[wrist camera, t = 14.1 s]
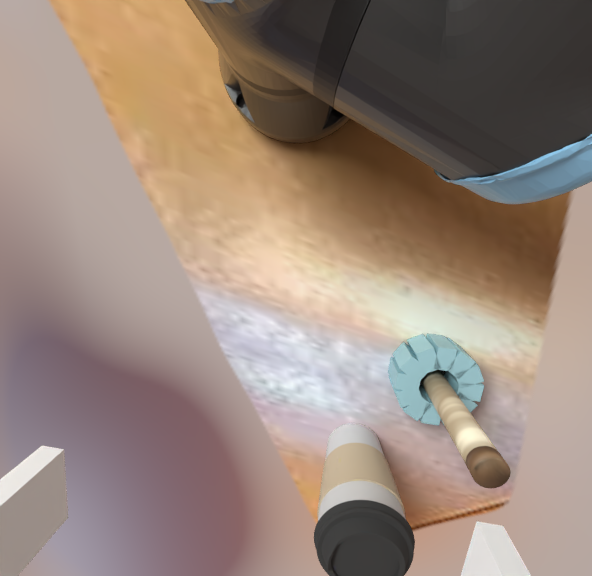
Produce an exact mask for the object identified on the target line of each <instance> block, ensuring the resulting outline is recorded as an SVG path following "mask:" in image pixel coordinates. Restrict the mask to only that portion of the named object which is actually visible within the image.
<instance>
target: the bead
mask: <svg viewBox="0 0 592 576" xmlns="http://www.w3.org/2000/svg"><path fill="white" fill-rule="evenodd" d="M407 341H408V344H409V346H410V347H409V346H408V345H407V344H405V343H404V342H403V343H402V344H401V345H400V346H399V347H398V348H397V350H396V351H395V352H394V353H393V356H394V358H392V357H391V359H390V364H389V370H388V373H389V378H390V381H391V384H392V386H393V389H394V392H395V394H396V397H397V399H398V402H399V404H400V407H401V408H403V411H404V412H405V413H407V414H408V415H410V416H411V417H412V418H414V419H415V420H416V421H418V420H419V419H420V421H421V423H426V424H432V425H439V424H440V419H441V418H440V416H439V414H438V412H437V411H436V409H435V407H434V405H433V403H432V401H431V400H430V398H429V396H428V394H427V392H426V391H425V389H424V387H423V385H420V381H421V379H422V378H423V377H424V376H425V375H426V374H427V373H429V372H432V371H435V370H444V371H445V375H444V377H445V378H446V380H447V381H448V382H449V384H450V385H451V387H452V388H453V389H454V391H455V392H456V394H457V395H458V396H459V398H460V399H461V401H462V402H463V403H464V405H465V406H466V408H467V409H468V410H469V412H472V411H473V410H474V409H475V408H476V407H477V406H478V405H477V404H476V403H475V401H478V402H480V400H481V396H482V393H483V389H484V385H483V384H482V383H481V382H484V380H483V377H482V374H481V371H480V368H479V366H478V365H477V364H476V362H475V361H474V360H473V359H472V358H471V357H470V356H469V355H468V354H467V353H466V352H465V351H464V350H463V349H462V348H461V347H460V346H459V345H457V344H456V343H455V342H453V341H452V340H451V339H449V338H446V337H445V336H442V335H435V334H427V337H425V336H424V335H423V334H421V335H418V336H416V337H413V338H410V339H407ZM441 421H442V420H441ZM442 423H443V421H442ZM443 425H444V423H443Z"/></svg>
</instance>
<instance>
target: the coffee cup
mask: <svg viewBox="0 0 592 576" xmlns="http://www.w3.org/2000/svg"><path fill="white" fill-rule="evenodd" d="M314 543H315V547H316V549H317V555H318V559H319V561H320V563H321V565H322V567H323V569H324V570H325V571H326V572H327V573H328V575H329V576H404V575H405V573H406V572H407V571H408V569H409V567H410V565H411V563H412V560H413V552H414V543H415V541H414V535H413V531H412V529H411V527H410V525H409V523H408V522H407V521H406V515H405V510H404V506H403V504H402V501H401V498H400V495H399V492H398V490H397V487H396V484H395V481H394V479H393V476H392V473H391V470H390V467H389V465H388V462H387V460H386V458H385V457H384V454H383V451H382V448H381V445H380V442H379V439H378V437H377V435H376V434H375V433H374V432H373V431H372V430H371V429H370V428H368V427H367V426H364V425H362V424H357V423H349V424H344V425H342V426H340V427H338V428H336V429H335V430H334V431H333V432H332V433H331V435H330V436H329V439H328V443H327V450H326V459H325V463H324V468H323V475H322V482H321V490H320V497H319V504H318V523H317V525H316V528H315V532H314Z"/></svg>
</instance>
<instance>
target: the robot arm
mask: <svg viewBox="0 0 592 576" xmlns="http://www.w3.org/2000/svg"><path fill="white" fill-rule="evenodd" d="M185 1H186V2H187V4H188V5H189V7H190V8H191V10H192V11H193V13H194V14H195V15H196V17H197V18H198V20H199V21H200V23H201V24H202V26H203V27H204V29H205V30H206V32H207V33H208V34H209V36H210V37H211V39H212V40H213V42H214V43H215V45H216V46H217V48H218V52H219V65H220V71H221V75H222V79H223V82H224V85H225V88H226V90H227V93H228V95H229V97H230V99H231V100H232V102H233V104H234V105H235V107H236V108H237V109H238V111H239V112H240V113H241V114H242V116H243V117H244V118H245V119H246V120H247V121H248V122H249V123H250V124H251V125H252V126H253V127H254V128H255V129H257V130H258V131H260V132H261V133H263V134H264V135H266V136H268V137H270V138H273V139H276V140H279V141H283V142H289V143H305V142H311V141H315V140H318V139H321V138H323V137H326V136H328V135H330V134H332V133H333V132H335V131H336V130H338V129H339V128H340V127H342V126H343V125H344V124H345V123H346V122H347V121H348V120H349V119H352V120H354V121H355V122H357V123H359V124H360V125H362V126H364V127H365V128H367V129H369V130H370V131H372V132H374V133H375V134H377V135H379V136H380V137H382V138H384V139H385V140H387V141H388V142H390V143H392V144H393V145H395V146H397V147H398V148H400V149H402V150H403V151H405V152H407V153H408V154H410V155H412V156H413V157H415V158H417V159H418V160H420V161H422V162H423V163H425V164H427V165H428V166H430V167H432V168H433V169H434V171H435V173H436V174H437V175H438V176H439V177H440V178H441V179H443V180H444V181H446V182H451V183H453V184H455V185H461V186H463V187H465V188H467V189H469V190H470V191H472V192H474V193H476V194H478V195H480V196H481V197H483V198H485V199H487V200H490V201H493V202H499V203H504V204H523V203H531V202H537V201H541V200H545V199H549V198H552V197H555V196H558V195H561V194H564V193H566V192H569V191H571V190H574V189H576V188H578V187H580V186H583V185H585V184H587V183H589V182H591V181H592V0H185ZM67 518H68V507H67V491H66V475H65V459H64V450H63V449H58V448H51V447H46V446H41V447H40V448H39V449H37V450H36V451H35V452H34V453H32V454H31V455H30V456H29V457H28V458H26V459H25V460H24V461H23V462H21V463H20V464H19V465H18V466H17V467H15V468H14V469H13V470H12V471H10V472H9V473H8V474H7V475H5V476H4V477H3V478H2V479H1V480H0V576H18V575H19V574H20V573H21V572H22V571H23V570H24V568H25V567H26V566H27V565H28V564H29V562H30V561H31V560H32V559H33V558H34V557H35V556H36V554H37V553H38V552H39V551H40V550H41V549H42V547H43V546H44V545H45V544H46V543H47V541H48V540H49V539H50V538H51V537H52V536H53V535H54V534H55V532H56V531H57V530H58V529H59V527H60V526H61V525H62V524H63V523H64V522H65V521H66V519H67ZM461 576H531V575H530V573H529V571H528V569H527V568H526V566H525V564H524V562H523V561H522V559H521V557H520V555H519V553H518V551H517V550H516V548H515V546H514V545H513V543H512V541H511V539H510V537H509V535H508V534H507V532H506V530H505V529H504V527H503V526H501V525H496V524H490V523H484V522H478V521H477V522H476V525H475V529H474V532H473V536H472V539H471V542H470V546H469V549H468V552H467V556H466V559H465V563H464V566H463V569H462V573H461Z"/></svg>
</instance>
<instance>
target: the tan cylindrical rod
mask: <svg viewBox="0 0 592 576" xmlns="http://www.w3.org/2000/svg"><path fill="white" fill-rule="evenodd" d="M421 383H422V385H423V387H424V389H425V391H426V392H427V394H428V396H429V398H430V400H431V401H432V403H433V405H434V407H435V409H436V411H437V412H438V414H439V416H440V418H441V420H442V421H443V423H444V425H445V427H446V429H447V431H448V432H449V434H450V436H451V438H452V440H453V441H454V443H455V445H456V447H457V449H458V451H459V452H460V454H461V456H462V458H463V460H464V461H465V463H466V465H467V467H468V469H469V471H470V473H471V475H472V477H473V478H474V480H475V482H476V483H477V484H479V485H480V486H482V487H485V488H496V487H500V486H502V485H503V484H505V483H506V482H507V481H508V479H509V477H510V468H509V466H508V464H507V463H506V462H505V460H504V459H503V457H502V456H501V455H500V453H499V452H498V451H497V449H496V448H495V447H494V445H493V444H492V442H491V441H490V440H489V438H488V437H487V435H486V434H485V433H484V431H483V430H482V429H481V427H480V426H479V424H478V423H477V422H476V420H475V419H474V417H473V416H472V415H471V413H470V412H469V410H468V409H467V408H466V406H465V405H464V403H463V402H462V401H461V399H460V398H459V396H458V395H457V394H456V392H455V391H454V389H453V388H452V387H451V385H450V384H449V382H448V381H447V380H446V378H445V377H444V375H443V374H442V373H441V371H440V370H435V371H432V372H429V373H427V374H426V375H425V376H424V377H423V378H422V379H421Z"/></svg>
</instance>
